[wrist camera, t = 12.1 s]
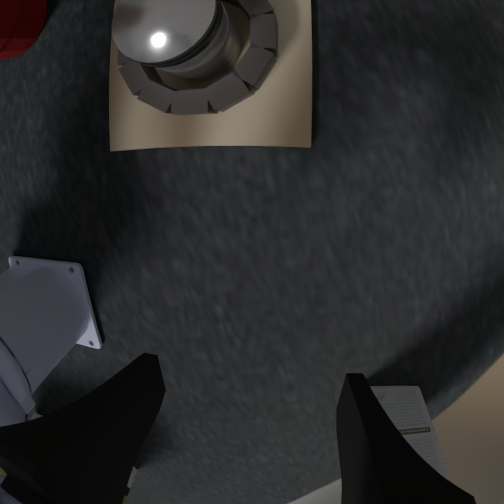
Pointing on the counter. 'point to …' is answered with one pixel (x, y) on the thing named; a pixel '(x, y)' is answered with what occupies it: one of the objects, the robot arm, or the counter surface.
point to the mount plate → (242, 122)
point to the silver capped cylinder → (178, 36)
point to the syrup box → (412, 421)
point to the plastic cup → (20, 25)
